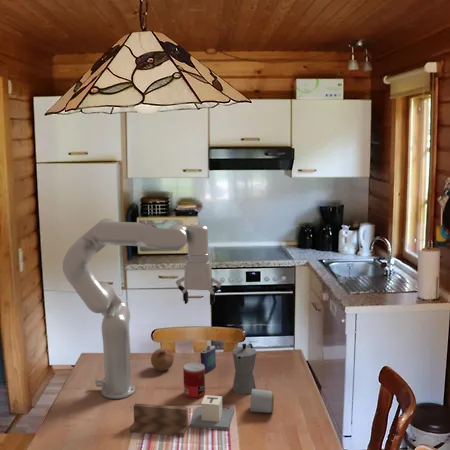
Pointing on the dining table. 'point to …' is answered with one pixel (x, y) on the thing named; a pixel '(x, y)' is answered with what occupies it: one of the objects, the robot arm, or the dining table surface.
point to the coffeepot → (244, 369)
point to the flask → (208, 358)
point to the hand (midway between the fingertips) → (199, 303)
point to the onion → (162, 359)
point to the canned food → (194, 380)
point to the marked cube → (211, 408)
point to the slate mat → (222, 424)
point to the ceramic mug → (262, 401)
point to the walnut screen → (160, 419)
